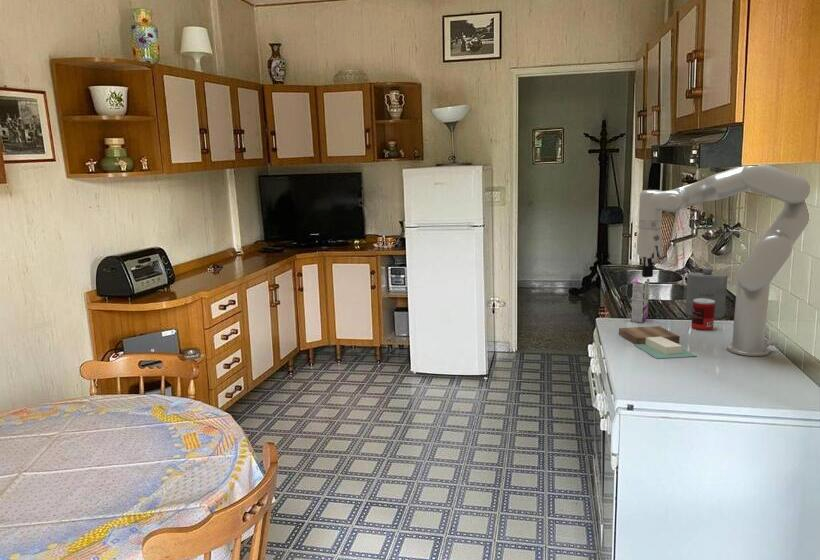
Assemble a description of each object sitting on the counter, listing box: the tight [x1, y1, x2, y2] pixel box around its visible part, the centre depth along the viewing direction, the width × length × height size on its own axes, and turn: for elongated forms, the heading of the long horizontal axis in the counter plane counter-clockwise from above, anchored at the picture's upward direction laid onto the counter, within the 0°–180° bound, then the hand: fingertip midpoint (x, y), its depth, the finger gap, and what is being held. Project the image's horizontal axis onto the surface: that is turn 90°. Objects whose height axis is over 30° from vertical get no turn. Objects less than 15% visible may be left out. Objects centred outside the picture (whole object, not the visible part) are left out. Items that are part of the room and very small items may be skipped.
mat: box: [633, 343, 697, 360], centre depth 216 cm, size 14×16×1 cm
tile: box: [645, 337, 683, 354], centre depth 217 cm, size 6×12×2 cm, turn 12°
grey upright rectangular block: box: [684, 267, 728, 319], centre depth 261 cm, size 15×6×20 cm, turn 70°
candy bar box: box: [630, 277, 650, 324], centre depth 257 cm, size 11×5×16 cm, turn 150°
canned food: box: [691, 298, 715, 331], centre depth 243 cm, size 8×8×11 cm
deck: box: [618, 325, 681, 345], centre depth 230 cm, size 16×14×2 cm
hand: (647, 276), depth 226 cm, fingers closed
